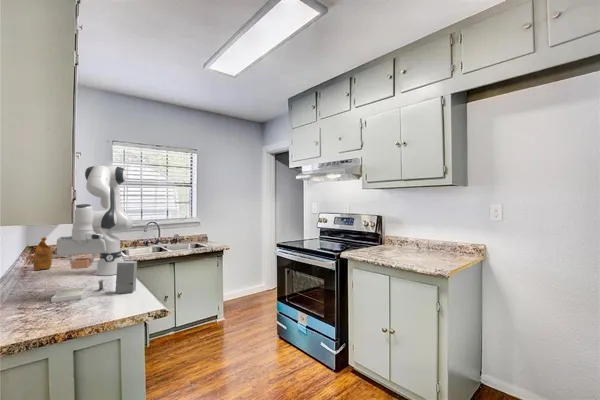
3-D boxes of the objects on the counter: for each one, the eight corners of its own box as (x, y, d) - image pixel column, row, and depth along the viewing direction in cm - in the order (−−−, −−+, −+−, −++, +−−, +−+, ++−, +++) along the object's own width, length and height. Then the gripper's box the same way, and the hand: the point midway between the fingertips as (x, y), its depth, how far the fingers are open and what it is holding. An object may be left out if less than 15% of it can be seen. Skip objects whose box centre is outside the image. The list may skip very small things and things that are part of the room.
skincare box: (115, 294, 152) (115, 263, 153) (119, 290, 159) (119, 260, 159) (133, 292, 155) (133, 262, 155) (137, 289, 161) (137, 259, 162)
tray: (60, 293, 153) (60, 289, 153) (87, 290, 158) (87, 286, 158) (51, 302, 139) (51, 298, 139) (81, 299, 144) (81, 294, 144)
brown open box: (87, 267, 148) (87, 260, 148) (71, 268, 145) (71, 261, 145) (92, 263, 159) (92, 257, 159) (77, 264, 156) (77, 257, 156)
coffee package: (53, 266, 218) (53, 236, 218) (50, 269, 207) (51, 238, 208) (35, 268, 212) (35, 237, 212) (31, 271, 202) (32, 239, 202)
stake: (98, 289, 160) (98, 280, 160) (104, 289, 161) (104, 280, 161) (96, 291, 156) (96, 282, 156) (103, 291, 157) (103, 281, 157)
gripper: (55, 237, 144) (54, 266, 144) (105, 235, 153) (104, 262, 153) (58, 236, 150) (57, 264, 149) (106, 234, 159) (106, 260, 159)
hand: (82, 263), depth 151 cm, fingers closed on brown open box, 7 cm apart
